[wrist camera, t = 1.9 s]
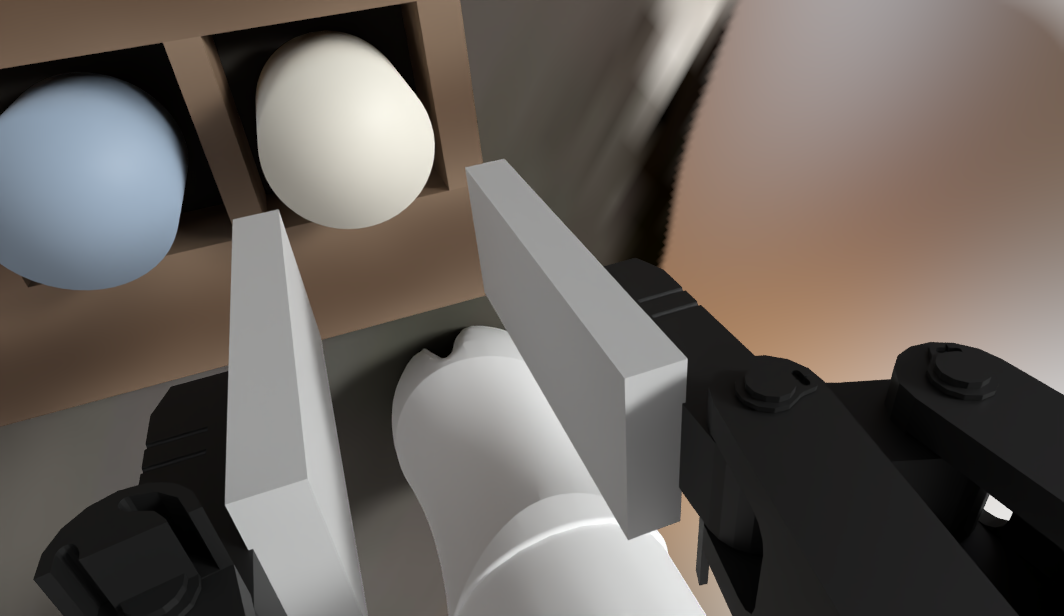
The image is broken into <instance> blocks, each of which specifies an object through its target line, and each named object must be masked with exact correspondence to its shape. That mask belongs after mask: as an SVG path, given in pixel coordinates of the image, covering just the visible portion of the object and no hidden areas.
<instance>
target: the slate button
mask: <svg viewBox="0 0 1064 616" xmlns="http://www.w3.org/2000/svg"><path fill="white" fill-rule="evenodd" d="M188 167H189V156H188V150H187V145H186V142H185V139H184V136H183V134H182V132H181V130H180V127H179V126H178V124H177V123H176V121H175V120H174V118H173V117H172V116H171V114H170V113H169V112H168V111H167V109H166V108H165V107H164V106H162V105H161V104H160V103H159V102H158V101H157V100H156V99H155V98H153V97H152V96H151V95H150V94H148V93H147V92H145V91H143V90H142V89H140V88H139V87H137V86H135V85H133V84H131V83H129V82H126V81H124V80H121V79H118V78H115V77H112V76H108V75H104V74H98V73H90V72H72V73H63V74H59V75H55V76H51V77H49V78H46V79H44V80H41V81H39V82H38V83H36V84H34V85H32V86H31V87H30V88H28V89H27V90H26V91H25V92H23V93H22V94H21V95H20V96H19V97H18V98H17V99H16V100H15V101H14V102H13V103H12V104H11V105H10V106H9V107H8V108H7V109H6V110H5V111H4V112H3V113H2V114H1V115H0V264H1V265H3V266H4V267H6V268H7V269H9V270H11V271H13V272H15V273H16V274H18V275H20V276H23V277H25V278H27V279H30V280H32V281H35V282H38V283H41V284H44V285H47V286H52V287H57V288H62V289H70V290H99V289H106V288H112V287H116V286H119V285H123V284H126V283H128V282H131V281H133V280H136V279H138V278H139V277H141V276H143V275H145V274H146V273H148V272H149V271H150V270H152V269H153V268H154V267H156V266H157V265H158V264H159V262H160V261H161V260H162V259H163V258H164V257H165V256H166V254H167V253H168V251H169V250H170V248H171V246H172V244H173V242H174V239H175V236H176V233H177V229H178V224H179V218H180V213H181V207H182V202H183V196H184V191H185V185H186V180H187V174H188Z"/></svg>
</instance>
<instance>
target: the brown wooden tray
mask: <svg viewBox="0 0 1064 616" xmlns="http://www.w3.org/2000/svg"><path fill="white" fill-rule="evenodd" d="M396 4H400V6H401V12H402V17H403V22H404V28H405V33H406V38H407V44H408V49H409V54H410V60H411V65H412V70H413V76H414V81H415V87H416V92H417V97H418V99H419V100H420V101H421V103H422V104H423V106H424V108H425V110H426V112H427V114H428V116H429V119H430V122H431V125H432V129H433V133H434V142H435V149H434V160H433V165H432V169H431V172H430V175H429V177H428V180H427V182H426V184H425V186H424V187H423V189H422V191H421V192H420V194H419V195H418V196H417V197H416V199H415V200H414V201H413V202H412V203H411V204H410V205H409V206H408V207H407V208H406V209H404V210H403V211H402V212H400V213H399V214H398V215H396V216H394V217H393V218H391V219H389V220H387V221H384V222H382V223H380V224H377V225H373V226H370V227H365V228H359V229H338V228H332V227H326V226H323V225H320V224H317V223H314V222H312V221H309V220H307V219H305V218H303V217H302V216H300V215H298V214H297V213H295V212H294V211H293V210H291V209H290V208H289V207H287V206H286V205H285V204H284V203H283V202H282V201H281V200H280V199H279V198H278V196H277V195H276V194H275V193H271V194H267V195H266V193H265V190H264V187H263V184H262V181H261V178H260V175H259V173H258V170H257V167H256V164H255V161H254V158H253V155H252V152H251V149H250V146H249V143H248V140H247V137H246V134H245V131H244V128H243V125H242V122H241V119H240V116H239V113H238V111H237V108H236V105H235V102H234V99H233V96H232V93H231V90H230V87H229V84H228V81H227V78H226V75H225V72H224V69H223V66H222V63H221V60H220V57H219V54H218V52H217V49H216V46H215V43H214V40H213V37H212V34H218V33H224V32H230V31H236V30H242V29H249V28H255V27H261V26H267V25H273V24H279V23H285V22H292V21H298V20H304V19H310V18H316V17H322V16H328V15H335V14H341V13H347V12H353V11H359V10H365V9H371V8H378V7H384V6H390V5H396ZM162 42H163V44H164V47H165V50H166V52H167V55H168V57H169V60H170V63H171V65H172V68H173V71H174V73H175V76H176V78H177V81H178V84H179V86H180V89H181V92H182V94H183V97H184V100H185V102H186V105H187V107H188V110H189V113H190V115H191V118H192V121H193V123H194V126H195V129H196V131H197V134H198V136H199V139H200V142H201V144H202V147H203V150H204V152H205V155H206V157H207V160H208V163H209V165H210V168H211V171H212V173H213V176H214V179H215V181H216V184H217V186H218V189H219V192H220V194H221V197H222V200H223V202H224V204H221V205H216V206H212V207H207V208H202V209H198V210H193V211H189V212H184V213H180V218H179V224H178V229H177V233H176V236H175V239H174V242H173V244H172V246H171V248H170V250H169V251H168V253H167V254H166V256H165V257H164V258H163V259H162V260H161V261H160V262H159V264H158V265H157V266H156V267H154V268H153V269H152V270H150V271H149V272H148V273H146V274H145V275H143V276H141V277H139V278H138V279H136V280H133V281H131V282H128V283H126V284H123V285H119V286H116V287H112V288H106V289H99V290H70V289H62V288H57V287H52V286H47V285H44V284H41V283H38V282H35V281H32V280H30V279H27V278H25V277H23V276H20V275H18V274H16V273H15V272H13V271H11V270H9V269H7V268H6V267H4V266H3V265H1V264H0V427H1V426H5V425H8V424H12V423H16V422H19V421H23V420H27V419H31V418H34V417H38V416H42V415H45V414H49V413H53V412H56V411H60V410H64V409H67V408H71V407H75V406H79V405H82V404H86V403H90V402H93V401H97V400H101V399H104V398H108V397H112V396H116V395H119V394H123V393H127V392H130V391H134V390H138V389H141V388H145V387H149V386H152V385H156V384H160V383H164V382H167V381H171V380H175V379H178V378H182V377H186V376H189V375H193V374H197V373H201V372H204V371H208V370H212V369H215V368H219V367H223V366H226V365H229V335H230V299H231V263H232V227H233V219H237V218H242V217H246V216H251V215H255V214H260V213H264V212H269V211H273V210H278V209H279V212H280V215H281V218H282V221H283V224H284V227H285V230H286V233H287V236H288V239H289V242H290V245H291V248H292V251H293V254H294V257H295V260H296V263H297V266H298V269H299V272H300V275H301V278H302V281H303V284H304V287H305V290H306V293H307V296H308V299H309V302H310V305H311V308H312V311H313V314H314V317H315V321H316V324H317V327H318V330H319V333H320V336H321V340H323V339H326V338H330V337H334V336H337V335H341V334H345V333H348V332H352V331H356V330H359V329H363V328H367V327H371V326H374V325H378V324H382V323H385V322H389V321H393V320H396V319H400V318H404V317H408V316H411V315H415V314H419V313H422V312H426V311H430V310H433V309H437V308H441V307H444V306H448V305H452V304H456V303H459V302H463V301H467V300H470V299H474V298H478V297H481V296H485V295H486V294H485V292H484V285H483V279H482V273H481V266H480V260H479V253H478V247H477V241H476V234H475V228H474V222H473V215H472V209H471V202H470V196H469V190H468V183H467V177H466V171H465V167H470V166H474V165H479V164H483V161H482V154H481V146H480V139H479V132H478V125H477V118H476V111H475V104H474V97H473V90H472V82H471V75H470V68H469V61H468V54H467V47H466V40H465V33H464V26H463V18H462V11H461V4H460V0H0V69H3V68H9V67H15V66H21V65H27V64H33V63H40V62H46V61H52V60H58V59H64V58H70V57H76V56H83V55H89V54H95V53H101V52H107V51H113V50H119V49H126V48H132V47H138V46H144V45H150V44H156V43H162Z"/></svg>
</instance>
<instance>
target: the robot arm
mask: <svg viewBox="0 0 1064 616" xmlns="http://www.w3.org/2000/svg"><path fill="white" fill-rule="evenodd" d="M465 171H466V177H467V183H468V190H469V196H470V202H471V209H472V215H473V222H474V228H475V234H476V241H477V247H478V253H479V260H480V266H481V273H482V279H483V285H484V292H485V294H486V296H487V297H488V299H489V301H490V302H491V304H492V306H493V308H494V309H495V311H496V313H497V315H498V316H499V318H500V320H501V322H502V323H503V325H504V327H505V328H506V330H507V332H508V334H509V335H510V337H511V339H512V341H513V342H514V344H515V346H516V347H517V349H518V351H519V353H520V354H521V356H522V358H523V360H524V361H525V363H526V365H527V367H528V368H529V370H530V372H531V373H532V375H533V377H534V379H535V380H536V382H537V384H538V386H539V387H540V389H541V391H542V392H543V394H544V396H545V398H546V399H547V401H548V403H549V405H550V406H551V408H552V410H553V412H554V413H555V415H556V417H557V418H558V420H559V422H560V424H561V425H562V427H563V429H564V431H565V432H566V434H567V436H568V437H569V439H570V441H571V443H572V444H573V446H574V448H575V450H576V451H577V453H578V455H579V457H580V458H581V460H582V462H583V463H584V465H585V467H586V469H587V470H588V472H589V474H590V476H591V477H592V479H593V481H594V482H595V484H596V486H597V488H598V489H599V491H600V493H601V495H602V496H603V498H604V500H605V501H606V503H607V505H608V507H609V508H610V510H611V512H612V514H613V515H614V517H615V519H616V521H617V522H618V524H619V526H620V527H621V529H622V531H623V533H624V534H625V536H626V538H627V540H631V539H633V538H636V537H639V536H641V535H644V534H647V533H649V532H652V531H655V530H657V529H660V528H662V527H665V526H668V525H671V524H673V523H676V522H679V521H680V514H681V493H682V492H683V494H684V495H685V497H686V498H687V499H688V501H689V502H690V504H691V505H692V506H693V508H694V509H695V510H696V512H697V513H698V515H699V516H700V519H699V535H698V548H697V562H696V572H697V577H698V582H699V585H703V584H707V582H708V570H709V565H710V568H711V570H712V572H713V574H714V576H715V579H716V581H717V583H718V585H719V587H720V590H721V592H722V594H723V596H724V598H725V601H726V603H727V605H728V607H729V609H730V612H731V614H732V616H1064V395H1063V394H1061V393H1059V392H1058V391H1056V390H1054V389H1052V388H1050V387H1049V386H1047V385H1046V384H1044V383H1042V382H1040V381H1038V380H1037V379H1035V378H1034V377H1032V376H1030V375H1028V374H1027V373H1025V372H1023V371H1021V370H1020V369H1018V368H1016V367H1014V366H1013V365H1011V364H1009V363H1008V362H1006V361H1004V360H1003V359H1001V358H998V357H996V356H994V355H991V354H989V353H987V352H985V351H983V350H980V349H977V348H973V347H969V346H965V345H960V344H956V343H938V342H929V343H925V344H920V345H915V346H911V347H909V348H908V349H906V350H905V351H904V352H902V353H901V354H899V355H898V357H897V360H896V363H895V366H894V369H893V373H892V377H891V379H889V380H873V381H858V382H843V383H825V382H824V381H823V380H822V379H821V378H819V377H818V376H817V375H816V374H815V373H813V372H812V371H811V370H810V369H809V368H806V367H804V366H802V365H800V364H797V363H795V362H793V361H791V360H788V359H783V358H777V357H772V356H766V355H763V356H754V355H753V354H752V353H751V352H750V351H749V350H748V349H747V348H746V347H745V346H744V345H742V343H741V342H740V341H738V339H736V338H735V337H734V336H733V335H732V334H731V333H730V332H729V331H728V330H727V329H726V328H725V327H724V326H723V325H722V324H721V323H719V322H718V321H717V320H716V319H715V318H714V317H713V316H712V315H711V314H710V313H709V312H708V311H707V310H706V309H705V308H703V307H702V306H701V305H700V306H698V304H697V301H696V300H695V299H694V298H693V297H692V296H691V295H690V294H689V293H687V291H683V290H682V287H681V286H680V285H679V284H678V283H677V282H676V281H675V280H674V279H673V278H672V277H671V276H670V275H669V274H667V273H666V272H665V271H664V270H663V269H661V268H658V267H656V266H654V265H651V264H649V263H647V262H644V261H642V260H639V259H637V258H633V259H630V260H626V261H622V262H619V263H615V264H611V265H608V266H604V267H603V266H602V265H601V264H600V263H599V262H598V260H597V259H596V258H595V257H594V256H593V255H592V254H591V253H590V252H589V251H588V250H587V248H586V247H585V246H584V245H583V244H582V243H581V242H580V241H579V240H578V239H577V238H576V236H575V235H574V234H573V233H572V232H571V231H570V230H569V229H568V228H567V227H566V226H565V224H564V223H563V222H562V221H561V220H560V219H559V218H558V217H557V216H556V215H555V214H554V212H553V211H552V210H551V209H550V208H549V207H548V206H547V205H546V204H545V203H544V202H543V200H542V199H541V198H540V197H539V196H538V195H537V194H536V193H535V192H534V191H533V190H532V188H531V187H530V186H529V185H528V184H527V183H526V182H525V181H524V180H523V179H522V178H521V176H520V175H519V174H518V173H517V172H516V171H515V170H514V169H513V168H512V167H511V166H510V164H509V163H508V162H507V161H506V160H505V159H501V160H496V161H492V162H488V163H483V164H479V165H474V166H470V167H465ZM146 446H147V449H146V450H145V451H144V457H143V463H142V470H143V474H141V475H140V481H139V485H137V486H134V487H130V488H127V489H123V490H120V491H117V492H115V493H113V494H111V495H110V496H108V497H106V498H104V499H102V500H100V501H98V502H96V503H94V504H93V505H91V506H89V507H87V508H86V509H85V510H84V511H82V512H81V513H80V514H79V515H77V516H76V517H75V518H74V519H73V520H71V521H70V522H69V523H68V524H66V525H65V526H64V527H63V528H62V529H61V530H60V531H59V532H58V534H57V535H56V536H55V538H54V539H53V540H52V541H51V543H50V544H49V545H48V547H47V548H46V549H45V551H44V552H43V553H42V555H41V558H40V561H39V564H38V567H37V570H36V573H35V576H34V579H33V580H34V581H35V582H36V583H37V584H38V586H39V587H40V588H41V589H42V590H43V592H44V593H45V594H46V595H47V596H48V598H49V599H50V600H51V601H52V602H53V604H54V605H55V606H56V607H57V608H58V610H59V611H60V612H61V613H62V614H63V616H368V612H367V606H366V601H365V595H364V589H363V583H362V577H361V571H360V565H359V559H358V553H357V547H356V541H355V536H354V530H353V524H352V518H351V512H350V506H349V500H348V494H347V488H346V482H345V477H344V471H343V465H342V459H341V453H340V447H339V441H338V435H337V429H336V423H335V417H334V412H333V406H332V400H331V394H330V388H329V382H328V376H327V370H326V364H325V358H324V352H323V347H322V341H321V336H320V333H319V330H318V327H317V324H316V321H315V317H314V314H313V311H312V308H311V305H310V302H309V299H308V296H307V293H306V290H305V287H304V284H303V281H302V278H301V275H300V272H299V269H298V266H297V263H296V260H295V257H294V254H293V251H292V248H291V245H290V242H289V239H288V236H287V233H286V230H285V227H284V224H283V221H282V218H281V215H280V212H279V209H278V210H273V211H269V212H264V213H260V214H255V215H251V216H246V217H242V218H237V219H233V227H232V263H231V299H230V335H229V371H227V372H224V373H220V374H216V375H213V376H209V377H205V378H202V379H198V380H194V381H191V382H187V383H183V384H180V385H176V386H172V387H170V389H169V390H168V392H167V393H166V394H165V396H164V397H163V399H162V400H161V402H160V403H159V404H158V406H157V407H156V409H155V410H154V411H153V413H152V414H151V416H150V422H149V427H148V433H147V439H146ZM989 494H990V495H991V496H993V497H994V498H995V499H997V500H998V501H999V502H1000V503H1002V504H1003V505H1005V506H1006V507H1007V508H1008V509H1010V510H1011V511H1012V512H1013V513H1012V516H1011V518H1010V520H1009V521H1007V520H1003V519H1000V518H997V517H995V516H993V515H991V514H990V513H988V512H987V511H985V510H984V509H983V508H984V506H985V504H986V501H987V499H988V497H989Z"/></svg>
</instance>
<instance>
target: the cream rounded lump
mask: <svg viewBox="0 0 1064 616" xmlns="http://www.w3.org/2000/svg"><path fill="white" fill-rule="evenodd" d="M255 106H256V124H257V141H258V153H259V159H260V163H261V167H262V170H263V173H264V175H265V177H266V180H267V181H268V183H269V185H270V187H271V188H272V190H273V191H274V192H275V194H276V195H277V196H278V198H279V199H280V200H281V201H282V202H283V203H284V204H285V205H286V206H287V207H289V208H290V209H291V210H293V211H294V212H295V213H297V214H298V215H300V216H302V217H303V218H305V219H307V220H309V221H312V222H314V223H317V224H320V225H323V226H326V227H332V228H338V229H359V228H365V227H370V226H373V225H377V224H380V223H382V222H384V221H387V220H389V219H391V218H393V217H394V216H396V215H398V214H399V213H400V212H402V211H403V210H404V209H406V208H407V207H408V206H409V205H410V204H411V203H412V202H413V201H414V200H415V199H416V197H417V196H418V195H419V194H420V192H421V191H422V189H423V187H424V186H425V184H426V182H427V180H428V177H429V175H430V172H431V169H432V165H433V160H434V149H435V142H434V133H433V129H432V125H431V122H430V119H429V116H428V114H427V112H426V110H425V108H424V106H423V104H422V103H421V101H420V100H419V99H418V97H417V96H416V94H415V93H414V92H413V91H412V89H411V88H410V87H409V85H408V84H407V83H406V82H405V80H404V79H403V78H402V77H401V75H400V74H399V73H398V71H397V70H396V69H395V68H394V66H393V65H392V64H391V62H390V61H389V60H388V59H387V58H386V57H385V56H384V55H383V54H382V52H380V51H379V50H378V49H377V48H375V47H374V46H373V45H371V44H370V43H368V42H367V41H365V40H363V39H361V38H359V37H356V36H354V35H351V34H347V33H344V32H338V31H315V32H310V33H306V34H303V35H300V36H297V37H295V38H293V39H291V40H289V41H288V42H286V43H285V44H283V45H282V46H281V47H279V48H278V49H277V50H276V51H275V52H274V53H273V54H272V55H271V56H270V58H269V59H268V61H267V62H266V64H265V65H264V67H263V69H262V71H261V73H260V76H259V79H258V82H257V88H256V96H255Z"/></svg>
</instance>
